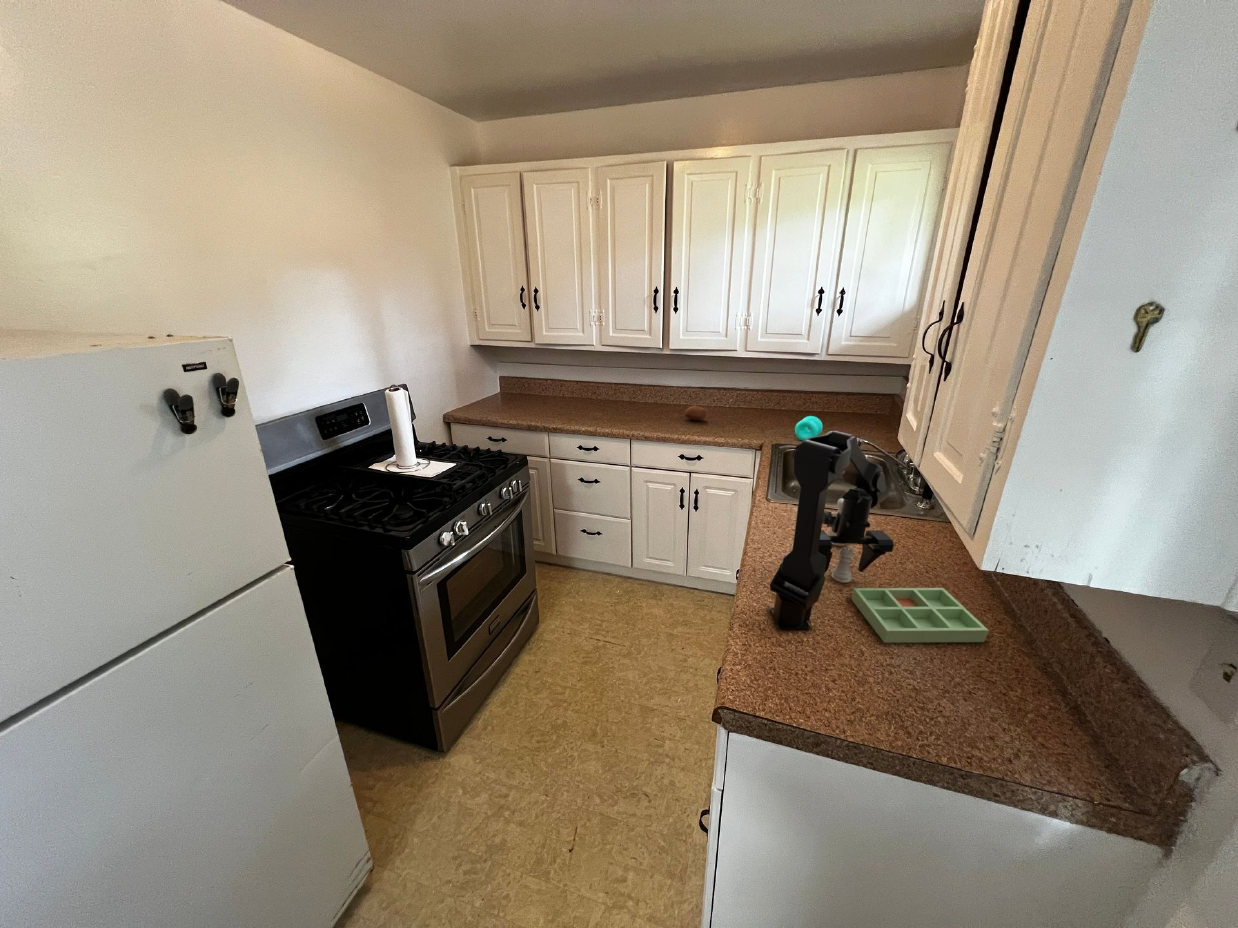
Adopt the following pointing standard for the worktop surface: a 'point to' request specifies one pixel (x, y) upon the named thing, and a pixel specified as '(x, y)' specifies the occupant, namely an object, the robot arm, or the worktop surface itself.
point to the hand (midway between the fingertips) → (842, 571)
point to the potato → (695, 413)
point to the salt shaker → (839, 505)
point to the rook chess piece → (843, 566)
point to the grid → (917, 615)
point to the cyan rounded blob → (812, 423)
